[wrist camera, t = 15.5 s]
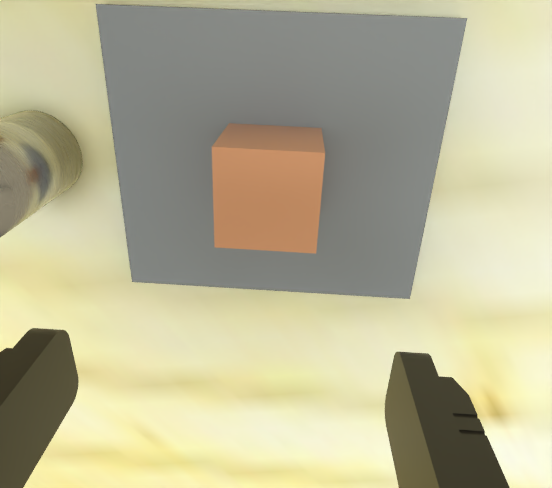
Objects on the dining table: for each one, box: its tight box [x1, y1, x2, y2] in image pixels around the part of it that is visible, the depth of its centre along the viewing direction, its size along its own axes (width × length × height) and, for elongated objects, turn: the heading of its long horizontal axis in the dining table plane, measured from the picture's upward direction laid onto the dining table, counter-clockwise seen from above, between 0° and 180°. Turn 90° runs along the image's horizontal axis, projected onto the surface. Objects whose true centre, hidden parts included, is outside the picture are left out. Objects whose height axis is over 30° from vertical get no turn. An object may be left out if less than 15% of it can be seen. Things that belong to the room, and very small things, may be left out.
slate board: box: [96, 4, 467, 299], centre depth 26 cm, size 18×16×1 cm
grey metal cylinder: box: [0, 110, 82, 237], centre depth 23 cm, size 5×5×7 cm
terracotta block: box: [212, 123, 325, 254], centre depth 23 cm, size 5×5×5 cm
